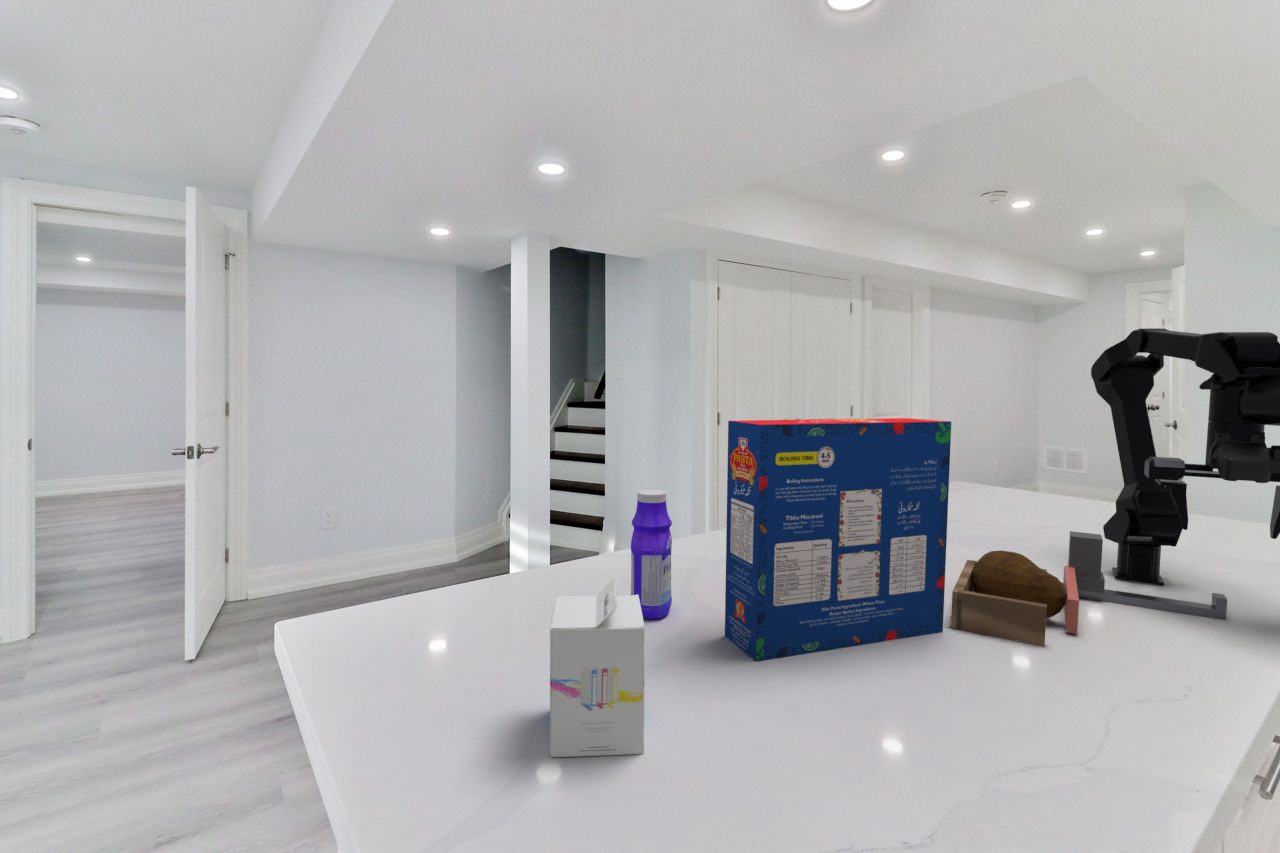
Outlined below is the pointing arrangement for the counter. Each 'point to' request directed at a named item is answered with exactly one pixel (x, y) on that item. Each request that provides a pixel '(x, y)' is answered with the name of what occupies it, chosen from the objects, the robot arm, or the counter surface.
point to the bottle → (651, 554)
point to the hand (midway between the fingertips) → (1227, 533)
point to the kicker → (1082, 573)
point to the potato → (1018, 580)
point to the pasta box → (834, 533)
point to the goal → (996, 612)
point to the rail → (1163, 602)
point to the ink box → (597, 675)
